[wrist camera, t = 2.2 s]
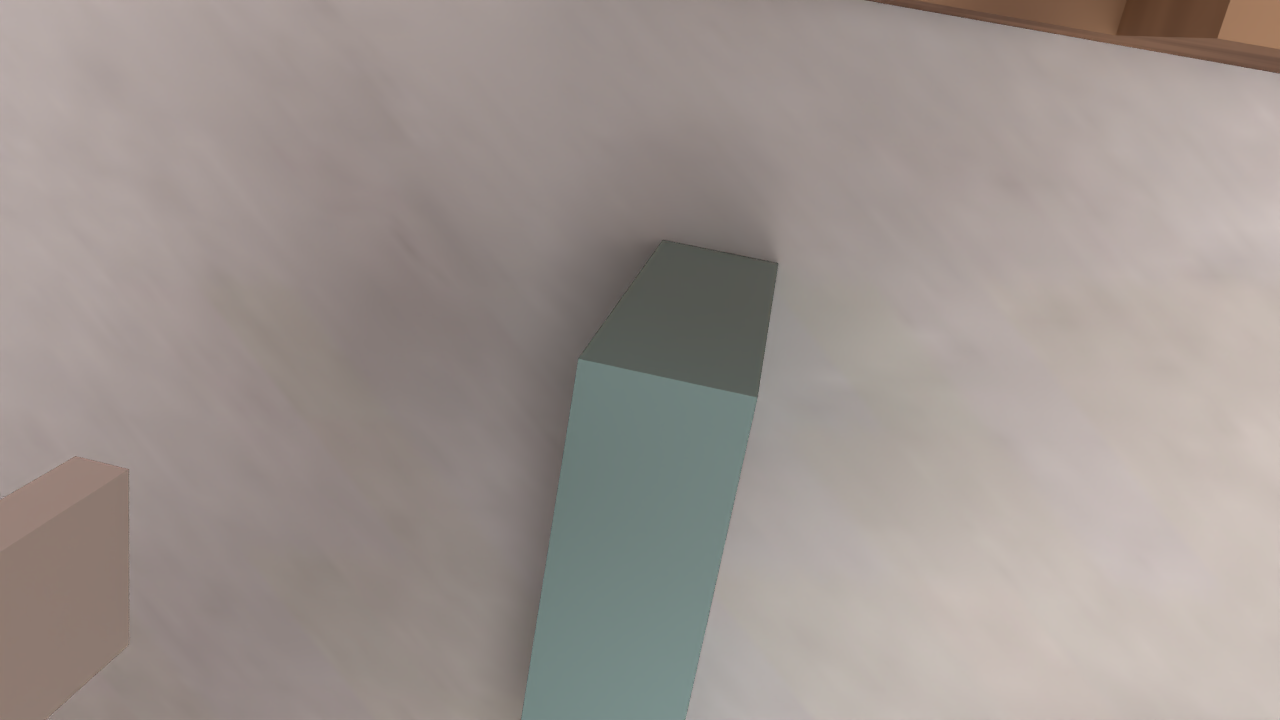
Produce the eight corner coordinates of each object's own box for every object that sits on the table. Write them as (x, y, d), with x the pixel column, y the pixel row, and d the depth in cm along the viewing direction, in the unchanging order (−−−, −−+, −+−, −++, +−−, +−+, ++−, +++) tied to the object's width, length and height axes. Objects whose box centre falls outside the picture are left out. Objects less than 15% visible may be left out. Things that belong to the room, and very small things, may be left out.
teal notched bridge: (667, 766, 31) (603, 1084, 22) (572, 742, 32) (469, 1045, 22) (778, 263, 26) (757, 397, 17) (662, 239, 26) (578, 358, 17)
